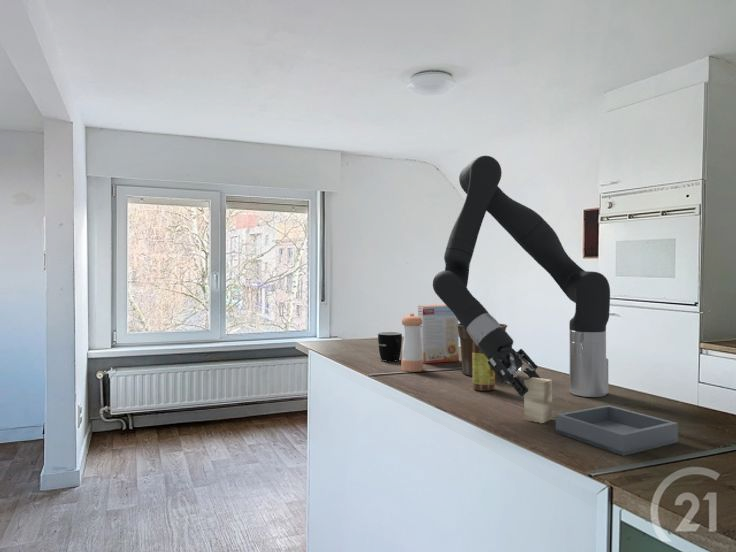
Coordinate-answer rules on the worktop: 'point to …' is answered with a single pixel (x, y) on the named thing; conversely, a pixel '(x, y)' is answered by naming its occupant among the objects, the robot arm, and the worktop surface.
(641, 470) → the worktop surface
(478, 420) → the worktop surface
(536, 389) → the maple block
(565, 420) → the box
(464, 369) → the plant pot
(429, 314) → the cracker box
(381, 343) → the mug
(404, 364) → the pepper shaker
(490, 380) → the sauce bottle
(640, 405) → the worktop surface
